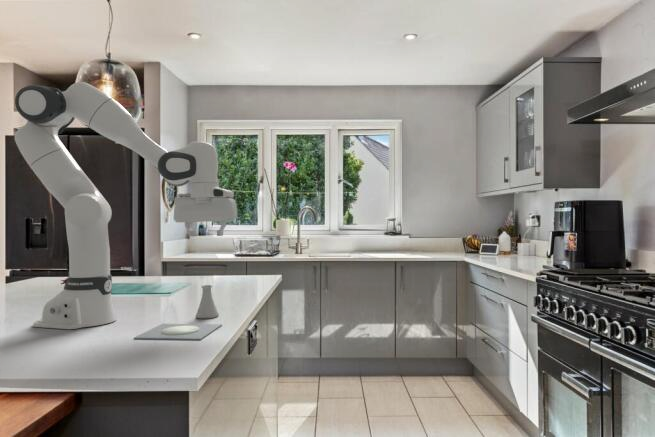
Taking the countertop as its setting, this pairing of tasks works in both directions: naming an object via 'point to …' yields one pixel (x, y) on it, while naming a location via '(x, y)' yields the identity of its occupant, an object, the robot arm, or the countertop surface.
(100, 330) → the countertop surface
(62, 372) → the countertop surface
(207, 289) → the flask
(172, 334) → the card
